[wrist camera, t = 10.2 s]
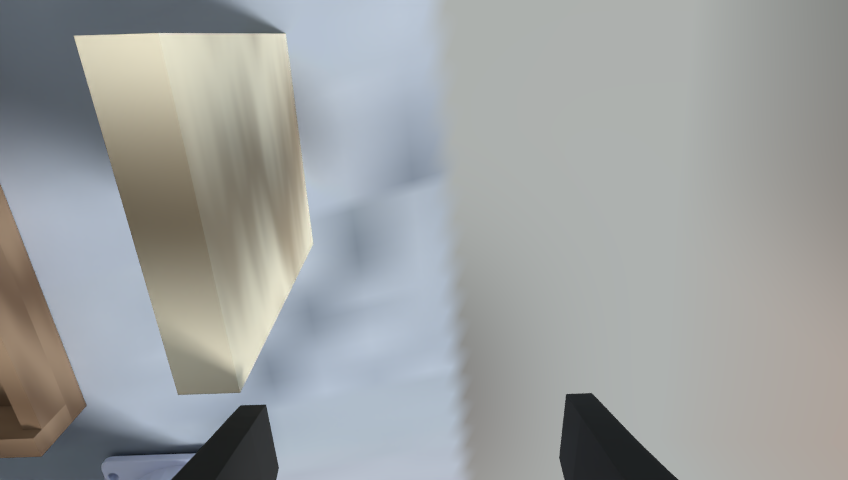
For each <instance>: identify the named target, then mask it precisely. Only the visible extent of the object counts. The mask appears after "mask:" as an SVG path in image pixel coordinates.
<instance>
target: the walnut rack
mask: <svg viewBox="0 0 848 480" xmlns="http://www.w3.org/2000/svg"><path fill="white" fill-rule="evenodd" d="M85 407H86V403H85V401H84V398H83V395H82V393H81V390H80V388H79V385H78V383H77V380H76V378H75V375H74V372H73V370H72V367H71V365H70V362H69V360H68V357H67V354H66V352H65V349H64V347H63V344H62V342H61V339H60V336H59V334H58V331H57V329H56V326H55V324H54V321H53V318H52V316H51V313H50V311H49V308H48V306H47V303H46V300H45V298H44V295H43V293H42V290H41V288H40V285H39V282H38V280H37V277H36V275H35V272H34V270H33V267H32V264H31V262H30V259H29V257H28V254H27V252H26V249H25V246H24V244H23V241H22V239H21V236H20V234H19V231H18V228H17V226H16V223H15V221H14V218H13V216H12V213H11V211H10V208H9V205H8V203H7V200H6V198H5V195H4V193H3V190H2V187H1V185H0V458H14V457H42V456H43V454H44V453H45V452H46V451H47V450H48V449H49V448H50V447H51V445H52V444H53V443H54V442H55V441H56V440H57V439H58V437H59V436H60V435H61V434H62V433H63V432H64V431H65V430H66V428H67V427H68V426H69V425H70V424H71V423H72V422H73V421H74V419H75V418H76V417H77V416H78V415H79V414H80V413H81V411H82V410H83V409H84V408H85Z"/></svg>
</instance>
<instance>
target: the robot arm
mask: <svg viewBox="0 0 848 480" xmlns="http://www.w3.org/2000/svg"><path fill="white" fill-rule="evenodd" d="M559 458H560V462H561V467H562V471H563V475H564V479H565V480H678V479H677V478H676V477H675V476H674V475H673V474H671V473H670V472H669V471H668V470H667V469H666V468H665V467H664V466H663V465H662V464H661V463H660V462H659V461H658V460H657V459H656V458H655V457H654V456H653V455H652V454H651V453H649V451H647V450H646V449H645V448H644V447H643V446H642V445H641V444H640V443H639V442H638V441H637V440H636V439H635V438H634V437H633V436H632V435H631V434H630V433H629V431H628V430H626V428H625V427H624V426H623V425H622V424H621V423H620V422H619V421H618V420H617V419H616V418H615V417H614V416H613V415H612V414H611V413H610V412H609V411H608V410H607V408H605V407H604V406H603V404H602V403H601V402H600V401H599V400H598V399H597V398H596V397H595V396H594V395H593V394H592V393H586V394H567V395H566V401H565V411H564V419H563V428H562V437H561V447H560V457H559ZM278 468H279V467H278V462H277V457H276V452H275V447H274V442H273V437H272V432H271V427H270V422H269V417H268V412H267V408H266V405H242V406H240V407H239V408H238V409H237V410H236V411H235V412H234V413H233V414H232V415H231V416H230V417H229V418H228V419H227V420H226V421H225V423H224V424H223V425H222V426H221V427H220V428H219V429H218V430H217V431H216V432H215V433H214V435H213V436H212V437H211V438H210V439H209V440H208V441H207V442H206V443H205V444H204V445H203V446H202V448H201V449H200V450H199V451H198V452H197V453H191V454H163V455H135V456H111V457H108V458H106V459H105V460H104V462H103V463H102V465H101V470H102V473H103V475H104V478H105V480H276V478H277V473H278Z"/></svg>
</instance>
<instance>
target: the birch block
mask: <svg viewBox="0 0 848 480" xmlns="http://www.w3.org/2000/svg"><path fill="white" fill-rule="evenodd" d="M74 38H75V42H76V45H77V49H78V52H79V56H80V59H81V63H82V66H83V69H84V73H85V76H86V80H87V83H88V87H89V90H90V93H91V97H92V100H93V104H94V107H95V111H96V114H97V118H98V121H99V124H100V128H101V131H102V135H103V138H104V142H105V145H106V149H107V152H108V155H109V159H110V162H111V166H112V169H113V173H114V176H115V179H116V183H117V186H118V190H119V193H120V197H121V200H122V204H123V207H124V210H125V214H126V217H127V221H128V224H129V228H130V231H131V235H132V238H133V241H134V245H135V248H136V252H137V255H138V259H139V262H140V265H141V269H142V272H143V276H144V279H145V283H146V286H147V290H148V293H149V296H150V300H151V303H152V307H153V310H154V314H155V317H156V321H157V324H158V327H159V331H160V334H161V338H162V341H163V345H164V348H165V351H166V355H167V358H168V362H169V365H170V369H171V372H172V376H173V379H174V382H175V386H176V389H177V393H178V395H188V394H218V393H240V392H241V390H242V388H243V386H244V384H245V382H246V380H247V378H248V376H249V374H250V372H251V370H252V368H253V366H254V363H255V361H256V359H257V357H258V355H259V353H260V351H261V349H262V347H263V345H264V343H265V341H266V339H267V337H268V335H269V333H270V331H271V329H272V327H273V325H274V323H275V321H276V319H277V317H278V315H279V313H280V311H281V309H282V306H283V304H284V302H285V300H286V298H287V296H288V294H289V292H290V290H291V288H292V286H293V284H294V282H295V280H296V278H297V276H298V274H299V272H300V270H301V268H302V266H303V264H304V262H305V260H306V258H307V256H308V254H309V252H310V249H311V247H312V245H313V238H312V231H311V223H310V215H309V208H308V200H307V192H306V185H305V177H304V170H303V162H302V154H301V147H300V139H299V131H298V124H297V116H296V108H295V101H294V93H293V86H292V78H291V70H290V63H289V55H288V47H287V40H286V34H267V33H146V34H115V35H84V36H74Z"/></svg>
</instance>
